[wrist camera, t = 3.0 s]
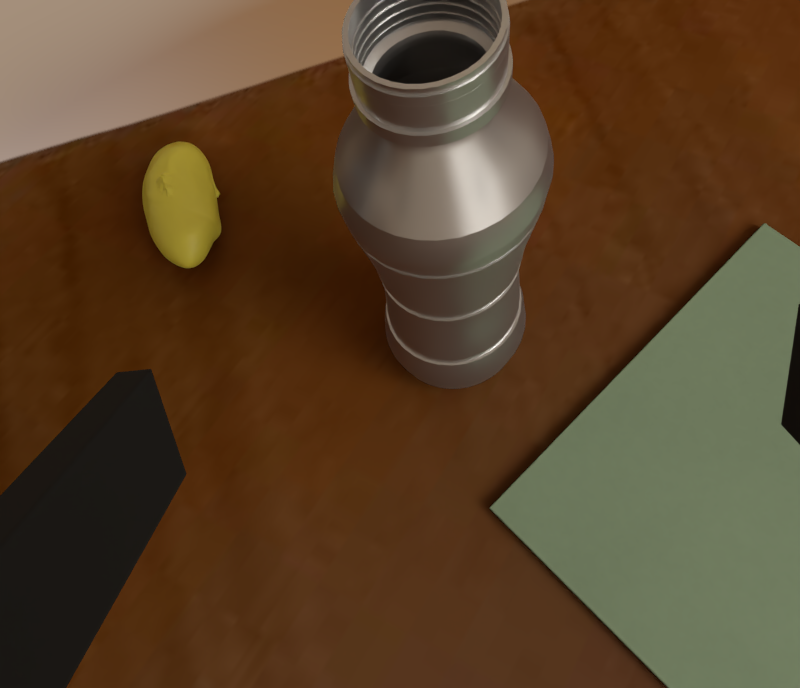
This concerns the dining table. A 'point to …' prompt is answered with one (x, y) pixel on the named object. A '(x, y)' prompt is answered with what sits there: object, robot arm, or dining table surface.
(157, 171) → the yellow potato
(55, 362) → the dining table surface
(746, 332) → the placemat
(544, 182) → the silver metal bottle
